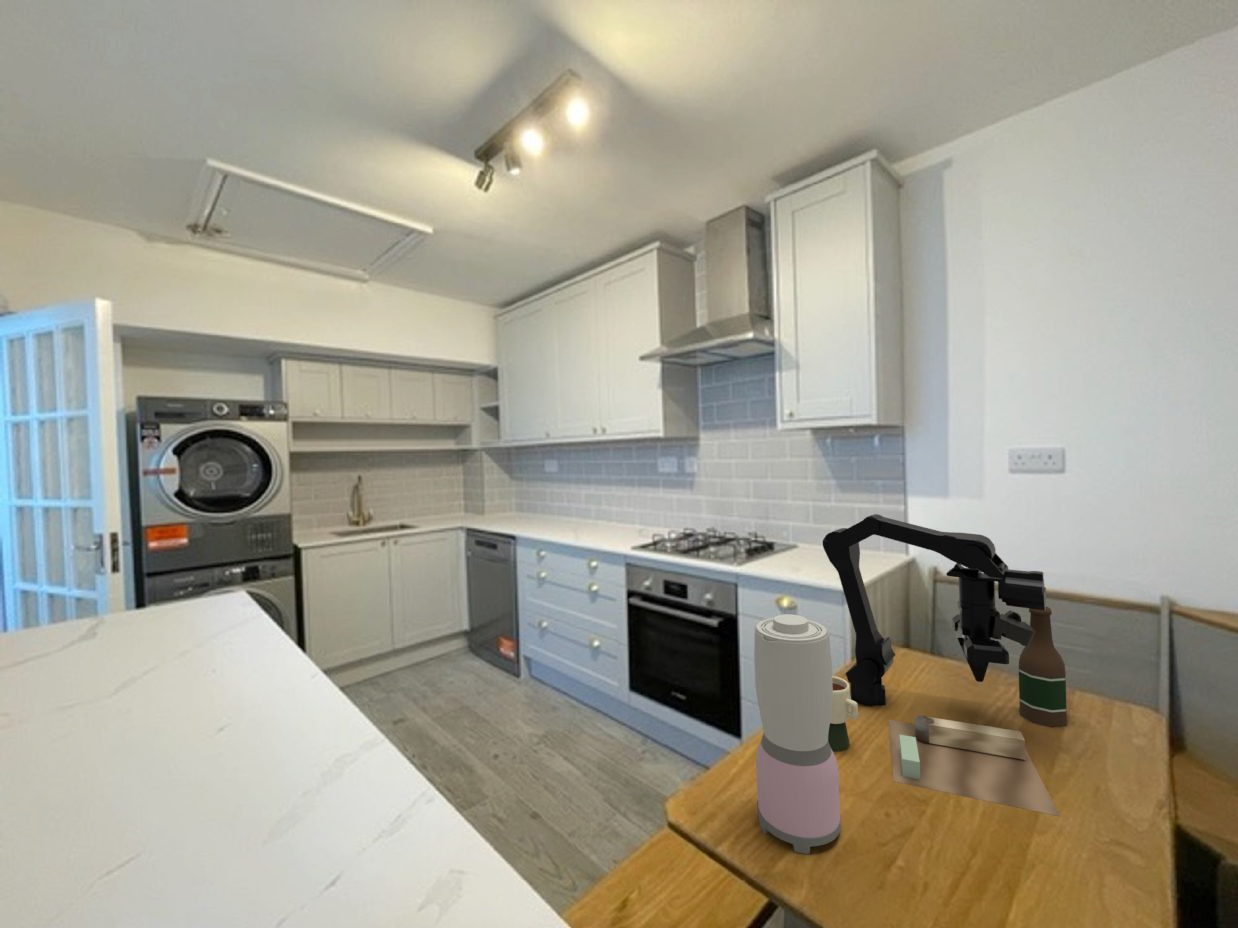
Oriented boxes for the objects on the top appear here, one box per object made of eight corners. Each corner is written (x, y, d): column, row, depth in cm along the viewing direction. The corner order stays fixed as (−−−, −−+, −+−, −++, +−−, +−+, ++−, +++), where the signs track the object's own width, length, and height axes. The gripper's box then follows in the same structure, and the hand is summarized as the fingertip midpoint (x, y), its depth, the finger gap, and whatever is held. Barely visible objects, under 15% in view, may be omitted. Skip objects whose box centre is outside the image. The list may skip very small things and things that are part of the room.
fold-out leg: (916, 740, 97) (915, 722, 96) (914, 731, 99) (914, 714, 99) (1025, 760, 89) (1025, 740, 89) (1020, 750, 92) (1020, 730, 92)
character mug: (870, 755, 96) (867, 686, 95) (848, 770, 91) (846, 699, 91) (817, 731, 104) (815, 668, 104) (796, 743, 100) (793, 678, 100)
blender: (815, 869, 71) (806, 640, 70) (741, 824, 80) (732, 621, 79) (864, 812, 81) (857, 612, 80) (794, 778, 90) (787, 598, 89)
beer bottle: (1057, 717, 105) (1054, 601, 105) (1077, 737, 98) (1073, 613, 97) (1012, 712, 108) (1009, 600, 107) (1028, 732, 101) (1024, 611, 100)
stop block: (902, 775, 87) (902, 758, 87) (899, 750, 94) (899, 734, 94) (920, 779, 86) (919, 762, 86) (916, 753, 93) (915, 737, 93)
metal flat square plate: (893, 789, 86) (893, 780, 86) (888, 726, 105) (888, 719, 105) (1060, 825, 76) (1060, 815, 76) (1021, 749, 95) (1021, 741, 95)
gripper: (1044, 620, 87) (1047, 711, 87) (1016, 591, 103) (1018, 667, 104) (966, 614, 92) (968, 700, 92) (950, 587, 108) (953, 660, 109)
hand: (979, 680), depth 99 cm, fingers closed
